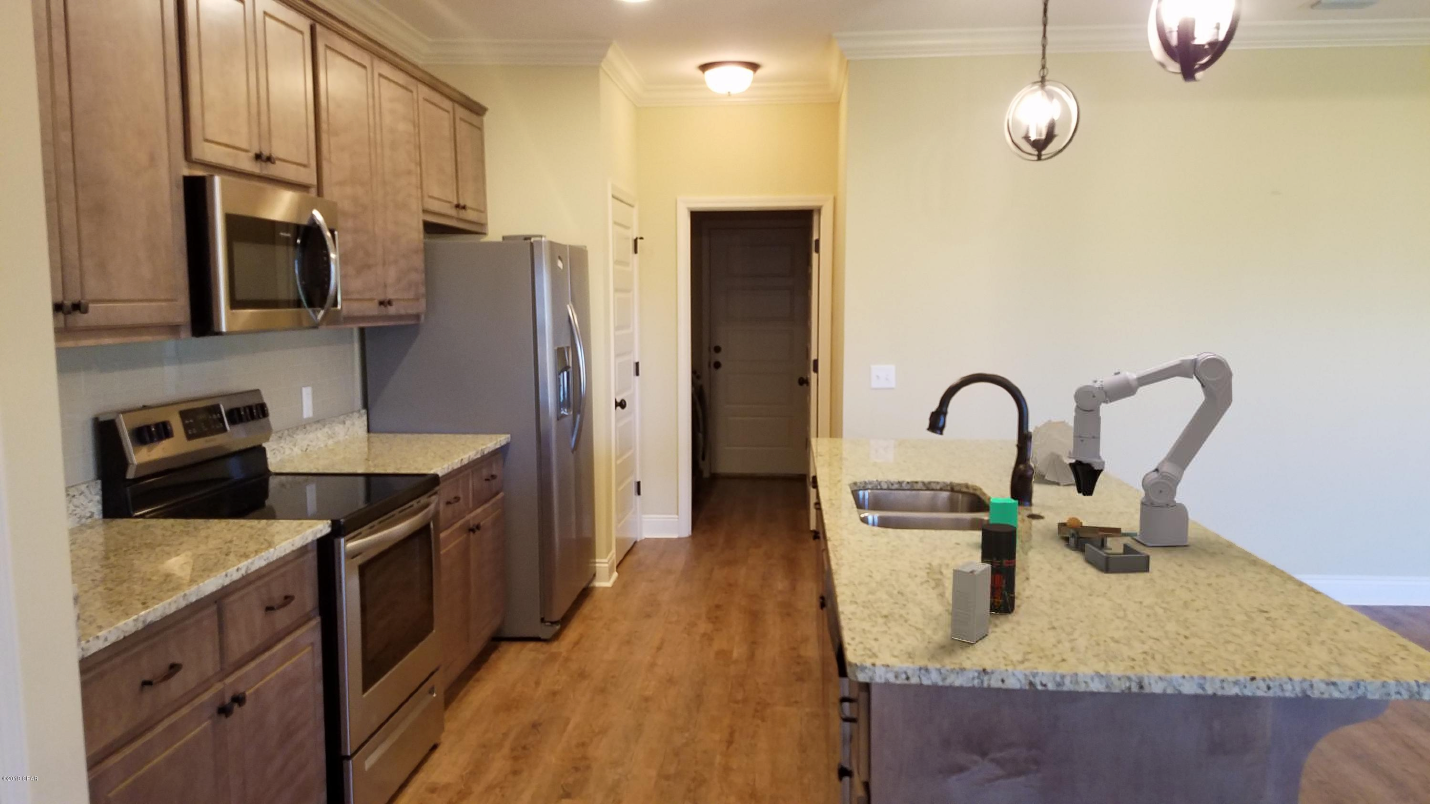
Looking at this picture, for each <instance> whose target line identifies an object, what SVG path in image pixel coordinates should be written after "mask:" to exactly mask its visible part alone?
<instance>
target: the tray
mask: <svg viewBox="0 0 1430 804" xmlns="http://www.w3.org/2000/svg"><path fill="white" fill-rule="evenodd" d="M1122 550H1123V551H1122V554H1112V555H1108V554H1106V553H1105V552H1104V551H1103V550H1098V549H1097V548H1095V547H1093V546H1092V545H1090V544H1085V550H1084V559H1085V560H1086V561H1087V562H1089V563H1090V564H1092V565H1094V567H1096V568H1098V569H1099V570H1100V571H1102V572H1104V573H1137V572H1139V573H1140V572H1142V573H1143V572H1147V573H1148V572H1150V562H1151V561H1150V560H1151V555H1149V554H1147V553H1146V552H1144V551H1143V550H1141V549H1139V548H1137V547H1135V546H1134V545H1132V544H1130V543H1128V542H1123V543H1122Z"/></svg>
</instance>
